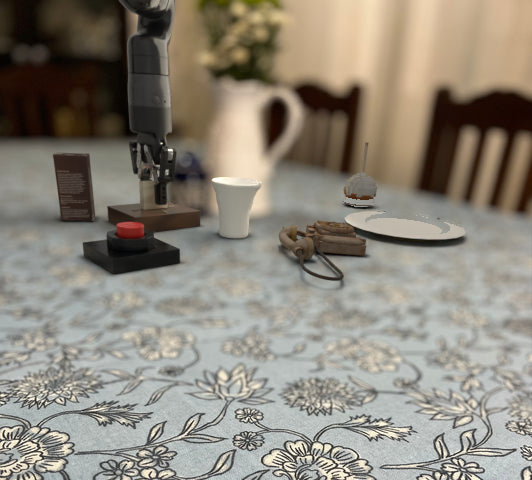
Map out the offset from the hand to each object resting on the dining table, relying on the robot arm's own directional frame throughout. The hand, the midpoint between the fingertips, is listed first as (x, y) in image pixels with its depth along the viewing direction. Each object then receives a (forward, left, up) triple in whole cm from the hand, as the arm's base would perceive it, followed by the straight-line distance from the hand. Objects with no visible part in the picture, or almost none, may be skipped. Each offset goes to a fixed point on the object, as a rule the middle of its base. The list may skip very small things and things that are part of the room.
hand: (153, 201), depth 99 cm
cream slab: (0, 0, -1) cm, 1 cm away
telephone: (+14, -32, -4) cm, 35 cm away
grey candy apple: (+56, -5, -4) cm, 56 cm away
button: (-15, -19, -1) cm, 24 cm away
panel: (0, 0, -4) cm, 4 cm away
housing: (-15, -19, -4) cm, 25 cm away
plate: (+43, -28, -4) cm, 51 cm away
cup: (+9, -14, -4) cm, 17 cm away
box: (-11, +10, -4) cm, 16 cm away
